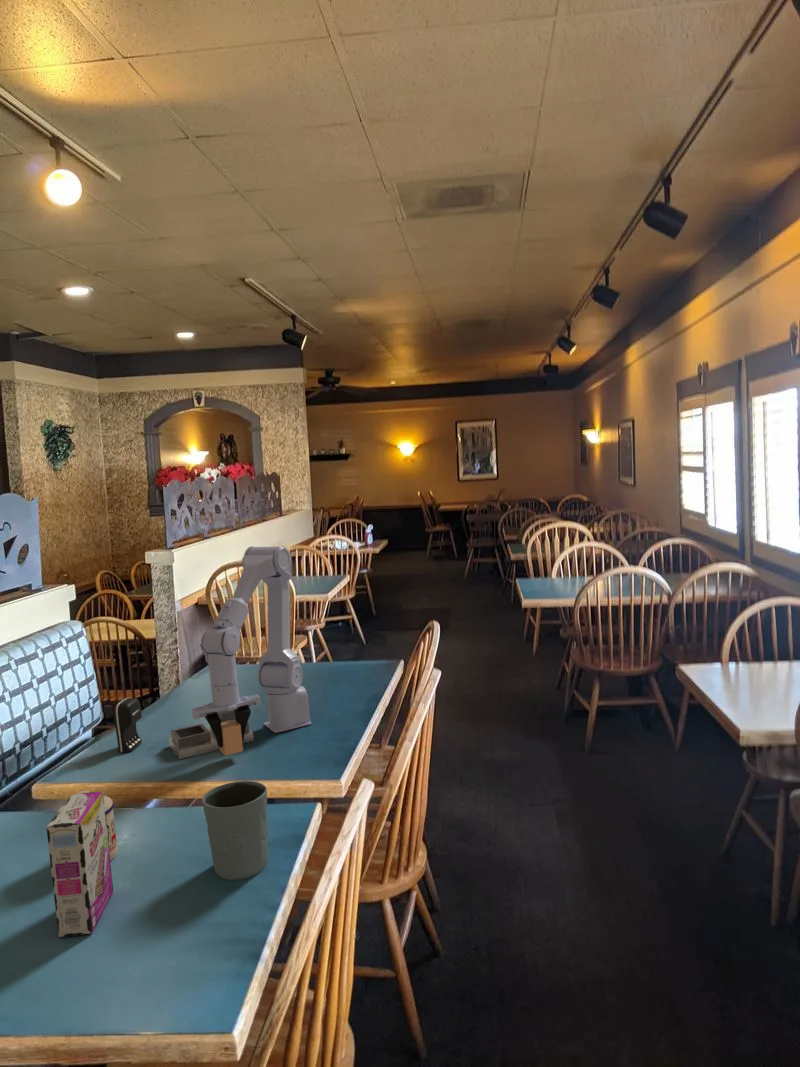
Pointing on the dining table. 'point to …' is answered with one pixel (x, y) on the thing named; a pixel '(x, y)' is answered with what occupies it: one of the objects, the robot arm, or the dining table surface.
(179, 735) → the power strip
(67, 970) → the dining table surface
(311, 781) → the dining table surface
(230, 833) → the grey cup
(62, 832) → the candy bar box
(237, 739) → the plug
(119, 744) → the battery
